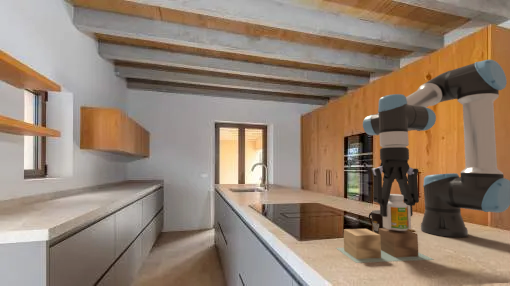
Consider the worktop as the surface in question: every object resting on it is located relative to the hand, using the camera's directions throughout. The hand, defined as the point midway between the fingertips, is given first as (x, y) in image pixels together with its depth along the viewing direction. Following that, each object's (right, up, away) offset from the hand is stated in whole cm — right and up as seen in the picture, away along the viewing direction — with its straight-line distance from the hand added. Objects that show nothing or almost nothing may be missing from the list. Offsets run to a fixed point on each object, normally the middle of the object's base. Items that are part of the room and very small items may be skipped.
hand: (396, 227), depth 74 cm
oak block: (-11, -7, -2) cm, 13 cm away
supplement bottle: (0, -1, 0) cm, 1 cm away
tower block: (0, -7, -1) cm, 7 cm away
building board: (-5, -8, -1) cm, 10 cm away
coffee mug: (+5, -10, +17) cm, 20 cm away
